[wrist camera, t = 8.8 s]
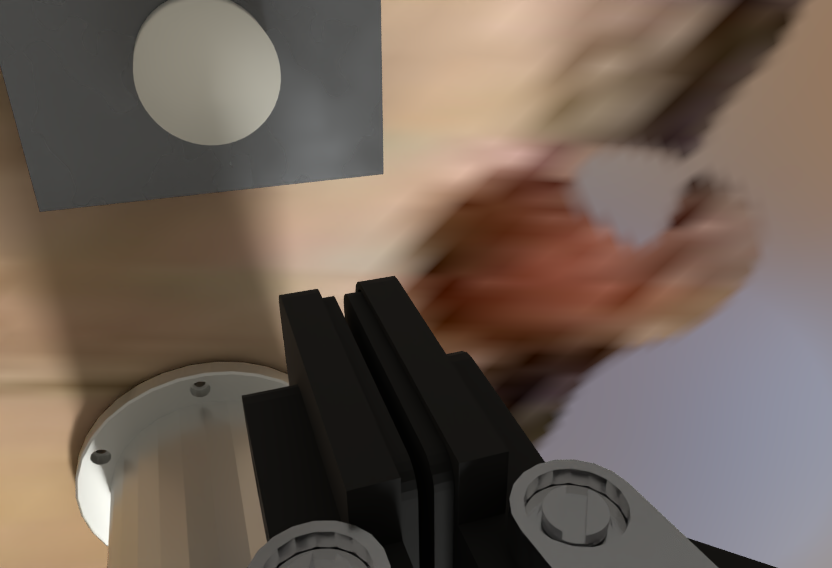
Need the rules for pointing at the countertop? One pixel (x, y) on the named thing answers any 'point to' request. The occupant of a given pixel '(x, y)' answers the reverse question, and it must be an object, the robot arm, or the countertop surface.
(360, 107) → the housing
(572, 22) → the countertop surface
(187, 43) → the knob
